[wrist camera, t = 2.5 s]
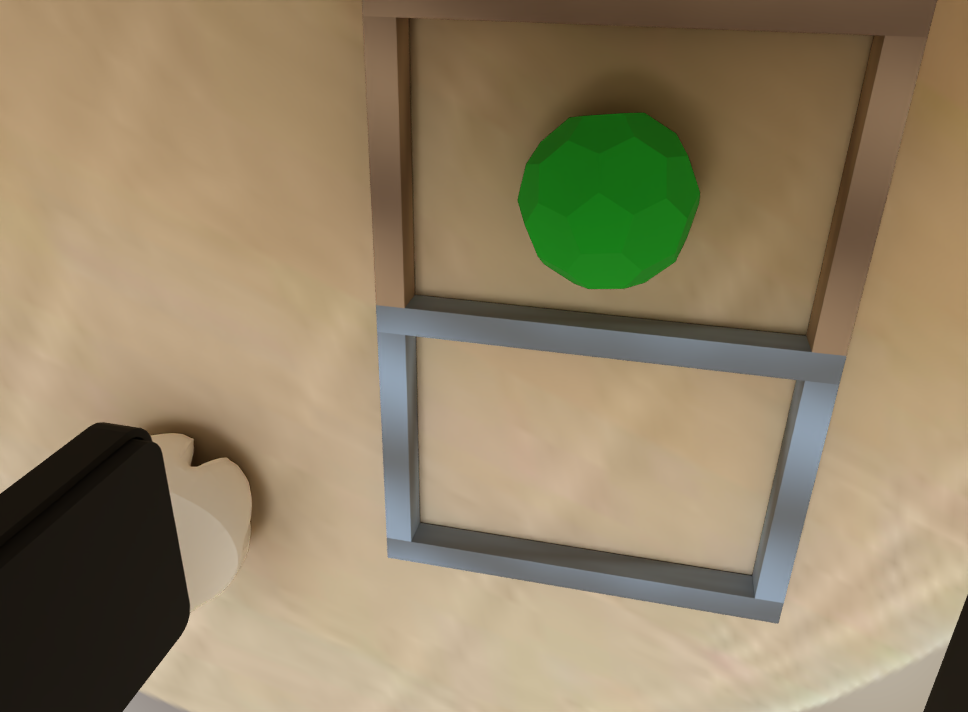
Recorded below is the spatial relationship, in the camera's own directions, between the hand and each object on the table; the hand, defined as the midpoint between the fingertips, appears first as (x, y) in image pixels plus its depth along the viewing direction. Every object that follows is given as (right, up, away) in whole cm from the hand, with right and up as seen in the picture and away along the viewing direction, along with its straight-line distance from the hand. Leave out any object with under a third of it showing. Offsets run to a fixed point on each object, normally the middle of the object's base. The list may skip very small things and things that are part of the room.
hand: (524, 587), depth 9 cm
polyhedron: (+4, +8, +15) cm, 18 cm away
